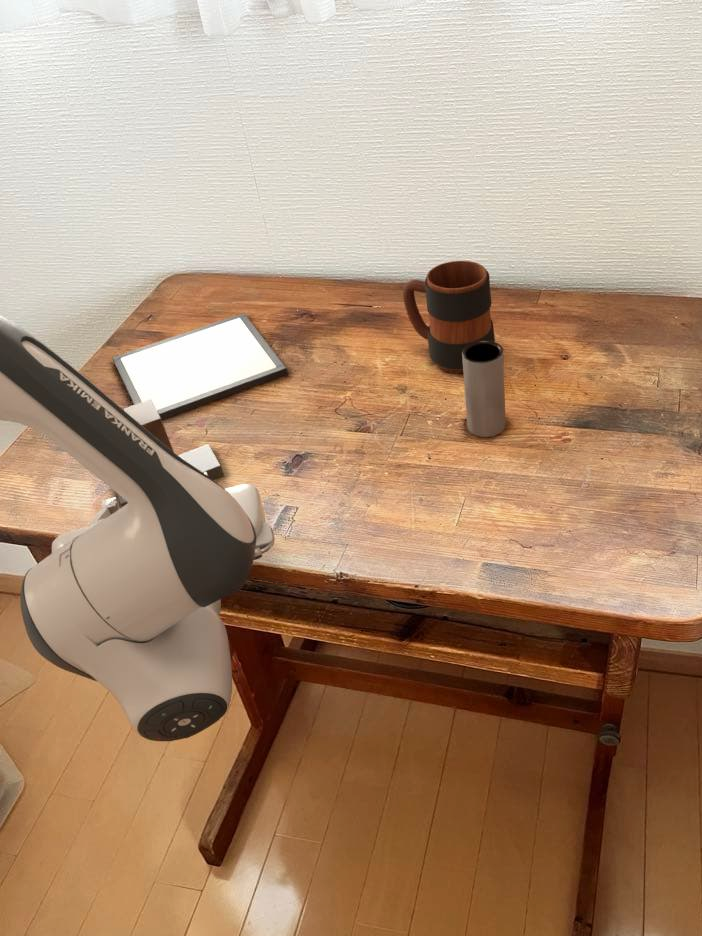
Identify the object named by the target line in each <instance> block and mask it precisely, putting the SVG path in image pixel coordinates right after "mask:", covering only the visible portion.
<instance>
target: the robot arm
mask: <svg viewBox="0 0 702 936" xmlns="http://www.w3.org/2000/svg"><path fill="white" fill-rule="evenodd" d="M123 409H124V408H122V407H121V406H120V405H118V404H117V403H116V402H115V401H113V399H111V398H110V397H109V396H108V395H106V393H104V392H103V391H102V390H101V389H100V388H98V387H97V386H96V385H94V384H93V383H92V382H91V381H90V380H89V379H88V378H87V377H85V376H84V375H82V373H81V372H79V370H77V369H76V368H75V367H73V366H72V365H71V364H70V363H68V362H67V361H66V360H65V359H64V358H62V357H61V356H59V354H57V353H56V352H55V351H54V350H52V349H51V348H50V347H48V346H47V345H46V344H44V343H43V342H42V341H41V340H39V339H38V338H37V337H35V336H34V335H33V334H31V332H28V331H27V330H26V329H24V328H23V327H21V326H20V325H19V324H17V323H15V322H13V321H12V320H11V319H8V318H7V317H5V316H3V315H1V314H0V421H3V422H11V423H15V424H20V425H22V426H26V427H28V428H30V429H33V430H35V431H36V432H39V433H40V434H41V435H43V436H45V437H46V438H47V439H48V440H50V441H51V442H52V443H54V444H55V445H56V446H57V447H59V448H60V449H61V450H63V451H64V452H65V453H66V454H67V455H69V456H70V457H72V458H73V459H74V460H75V461H76V462H78V463H79V464H80V465H81V466H83V467H84V469H86V470H88V471H89V472H90V473H91V474H93V475H94V476H95V477H96V478H98V479H99V480H100V481H102V482H103V483H104V484H105V485H106V486H108V487H109V488H110V489H111V490H113V491H114V492H115V493H116V492H117V493H118V494H119V495H120V496H122V497H123V498H124V499H125V500H126V501H127V502H128V503H127V504H126V505H125V506H123V507H121V504H120V502H119V500H118V497H117V496H112V497H108V498H104V499H101V500H100V508H101V509H99V510H98V512H97V513H96V514H95V515H94V516H93V518H92V519H91V521H89V523H90V524H89V525H87V526H84V527H80V528H77V529H73V530H69V531H65V532H62V533H60V534H59V535H58V536H56V538H55V539H54V540H53V541H52V542H51V553H50V554H49V555H47V556H46V557H45V558H43V559H42V560H41V561H39V562H38V563H36V564H35V566H33V567H31V568H29V569H28V570H27V571H26V573H25V574H24V576H23V579H22V584H21V588H20V598H19V599H20V610H21V611H20V612H21V617H22V621H23V624H24V628H25V631H26V634H27V637H28V639H29V641H30V643H31V644H32V647H33V648H34V649H35V651H36V652H37V653H38V654H39V655H40V656H41V657H43V658H44V659H45V660H47V661H48V662H49V663H51V664H52V665H54V666H56V668H57V667H58V668H59V669H61V670H64V671H66V672H69V673H72V674H75V675H78V676H81V677H83V678H85V679H89V680H90V681H94V682H98V683H99V684H100V685H101V686H102V687H103V688H105V689H106V690H107V691H108V692H109V693H110V694H111V695H112V696H113V697H114V699H115V700H116V701H117V702H118V704H119V705H120V707H121V708H122V710H123V713H124V714H125V716H126V719H127V720H128V723H129V724H130V726H131V728H132V729H133V731H134V732H135V733H136V734H138V735H139V736H140V737H141V738H144V739H146V740H148V741H151V742H153V741H154V742H174V741H179V740H184V739H188V738H189V739H190V738H191V737H194V736H195V735H197V734H200V733H201V732H203V731H205V730H206V729H208V728H210V727H211V726H213V725H214V724H216V723H217V722H218V721H220V720H221V719H222V718H223V717H224V716H225V714H226V713H227V711H228V709H229V707H230V704H231V701H232V694H233V668H232V667H233V666H232V658H231V650H230V643H229V642H230V641H229V637H228V632H227V628H226V626H225V624H224V622H223V620H222V618H221V617H220V614H221V608H222V607H221V606H222V599H223V598H226V597H229V596H230V595H232V594H233V593H236V592H238V591H239V590H241V589H242V588H244V586H245V584H246V583H247V580H248V578H249V576H250V572H251V570H252V567H253V563H254V561H256V560H258V559H261V558H263V554H264V553H267V552H268V551H270V550H271V549H272V548H273V547H274V545H275V541H276V537H275V534H274V530H273V528H272V526H271V525H270V524H269V523H267V521H266V513H265V510H264V506H263V501H262V499H261V495H260V493H259V490H258V487H257V486H255V485H253V484H251V483H248V482H247V483H240V484H237V485H234V486H230V487H227V488H224V487H223V486H222V485H220V483H218V482H217V481H216V480H215V479H211V478H210V477H209V476H208V474H207V472H204V473H203V472H201V471H200V470H198V469H197V468H195V467H194V466H192V465H191V464H189V463H188V462H186V461H185V460H183V459H182V458H180V457H179V456H178V455H179V454H177V453H175V451H174V450H173V451H174V452H173V451H171V450H170V449H169V448H168V447H166V446H165V445H164V444H163V443H162V442H160V441H159V440H158V439H157V438H156V437H154V436H153V435H152V434H151V433H150V432H149V431H147V430H146V429H145V428H144V427H143V426H142V425H140V424H139V423H138V422H137V421H136V420H135V419H133V418H132V417H131V416H130V415H129V414H128V413H126V412H125V411H124V410H123Z"/></svg>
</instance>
